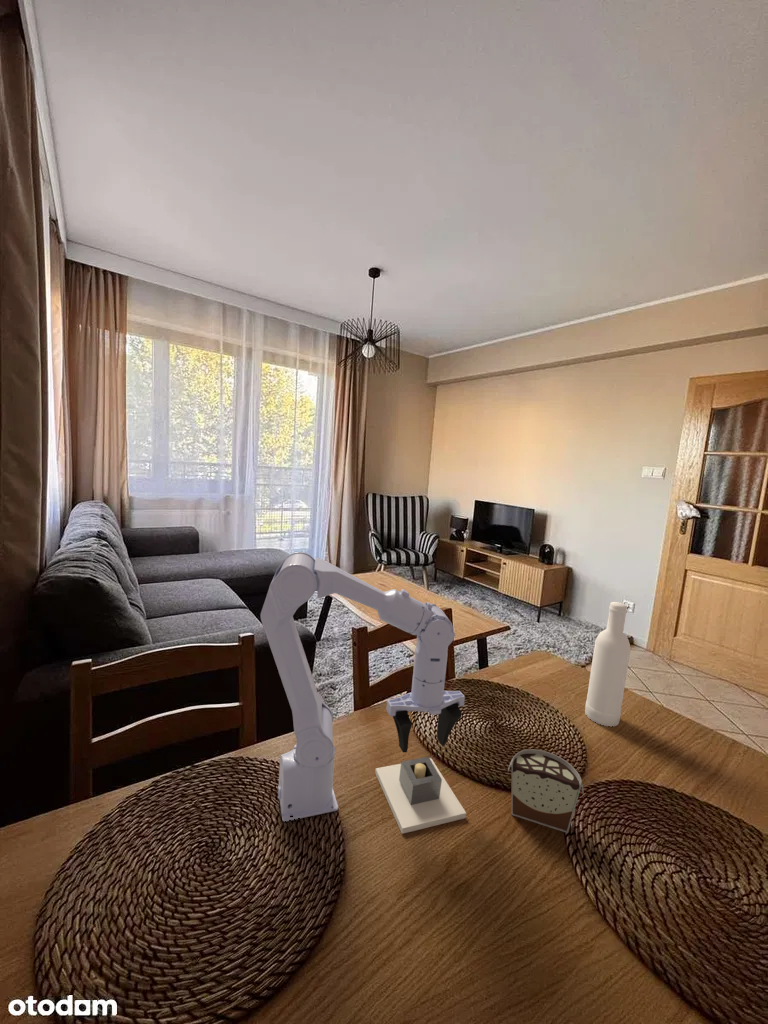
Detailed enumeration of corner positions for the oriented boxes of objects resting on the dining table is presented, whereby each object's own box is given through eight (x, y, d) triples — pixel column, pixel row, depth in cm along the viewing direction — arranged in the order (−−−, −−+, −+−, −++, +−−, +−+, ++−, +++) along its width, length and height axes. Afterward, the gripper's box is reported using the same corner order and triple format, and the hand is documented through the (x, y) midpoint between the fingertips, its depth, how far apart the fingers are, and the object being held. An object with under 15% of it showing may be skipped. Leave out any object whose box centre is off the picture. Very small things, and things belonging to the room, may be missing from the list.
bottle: (587, 704, 113) (603, 596, 110) (621, 716, 109) (638, 604, 105) (581, 718, 107) (598, 603, 103) (616, 731, 102) (635, 612, 99)
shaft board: (401, 833, 70) (404, 803, 69) (375, 773, 83) (377, 747, 82) (465, 818, 74) (468, 789, 74) (430, 762, 87) (433, 737, 87)
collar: (410, 805, 75) (413, 785, 74) (399, 780, 80) (401, 761, 79) (439, 798, 77) (441, 779, 76) (426, 774, 82) (428, 756, 81)
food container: (574, 809, 78) (581, 759, 77) (577, 836, 72) (585, 782, 71) (504, 787, 82) (510, 739, 81) (502, 811, 76) (508, 760, 75)
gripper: (399, 691, 70) (392, 767, 71) (476, 682, 74) (468, 753, 76) (385, 670, 76) (379, 740, 78) (456, 663, 81) (449, 729, 83)
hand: (422, 745), depth 77 cm, fingers open, 7 cm apart
